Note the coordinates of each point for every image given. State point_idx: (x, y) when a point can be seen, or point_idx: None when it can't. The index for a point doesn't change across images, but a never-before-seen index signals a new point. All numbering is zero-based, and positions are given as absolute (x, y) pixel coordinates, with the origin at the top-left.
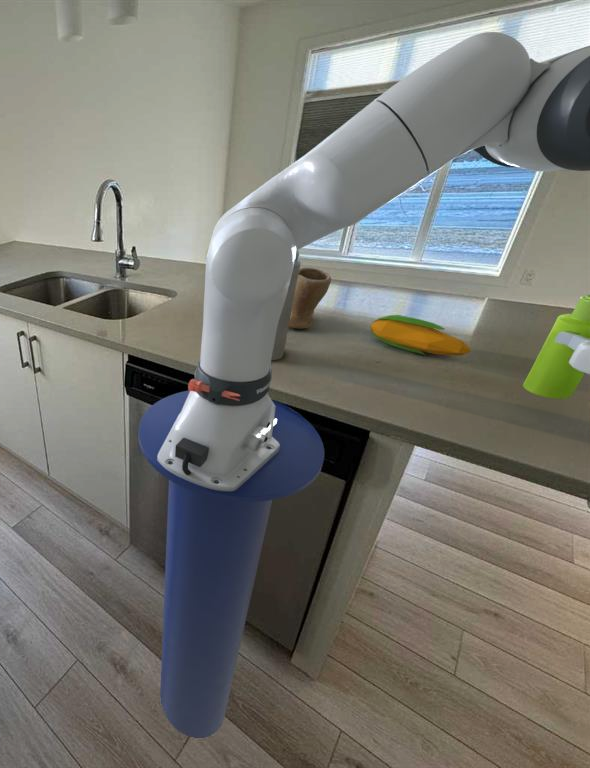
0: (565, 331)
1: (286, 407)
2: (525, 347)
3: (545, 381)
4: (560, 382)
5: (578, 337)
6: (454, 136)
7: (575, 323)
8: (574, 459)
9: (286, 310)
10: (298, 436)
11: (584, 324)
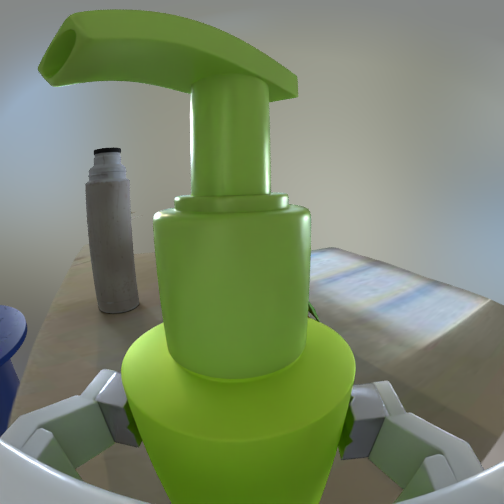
0: (118, 373)
1: (8, 349)
2: (466, 381)
3: None
4: None
5: (50, 405)
6: None
7: (135, 346)
8: None
9: (100, 243)
10: None
11: (139, 364)
